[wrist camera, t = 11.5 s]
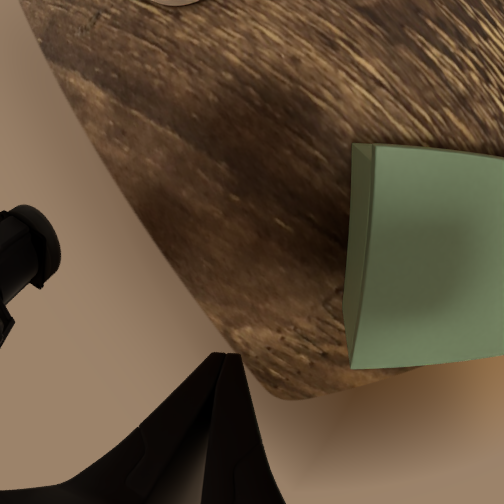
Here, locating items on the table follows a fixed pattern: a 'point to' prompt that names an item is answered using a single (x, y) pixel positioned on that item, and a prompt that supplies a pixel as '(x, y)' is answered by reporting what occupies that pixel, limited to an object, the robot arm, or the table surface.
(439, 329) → the lid
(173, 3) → the can
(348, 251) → the green square tray
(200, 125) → the table surface
